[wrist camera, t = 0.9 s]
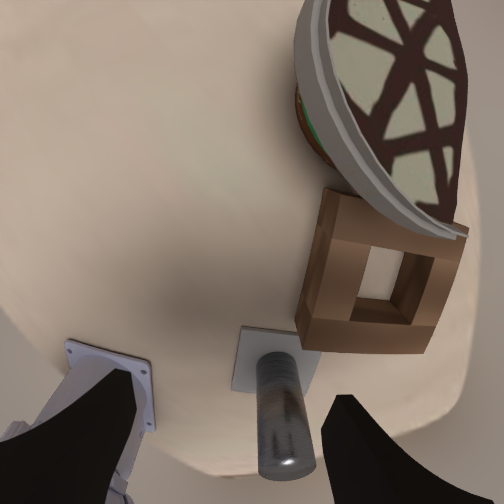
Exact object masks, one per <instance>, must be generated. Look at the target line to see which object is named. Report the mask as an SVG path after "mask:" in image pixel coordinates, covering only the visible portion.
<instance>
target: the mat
mask: <svg viewBox="0 0 504 504" xmlns="http://www.w3.org/2000/svg"><path fill="white" fill-rule="evenodd" d="M277 351H279V352H285V353H288V354H290V355H291V356H293V357H294V359H295V360H296V363H297V368H298V373H299V378H300V383H301V388H302V393H303V397H305V395H306V393H307V390H308V388H309V385H310V382H311V380H312V377H313V374H314V372H315V369H316V366H317V363H318V361H319V358H320V355H321V351H308V350H302V347H301V343H300V339H299V335H298V333H295V332H286V331H277V330H268V329H260V328H252V327H244V326H242V327H241V333H240V339H239V345H238V351H237V357H236V363H235V369H234V374H233V380H232V386H231V391H238V392H247V393H257V390H256V364H257V362H258V360H259V359H260V358H261V357H262V356H264V355H265V354H268V353H271V352H277Z"/></svg>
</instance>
